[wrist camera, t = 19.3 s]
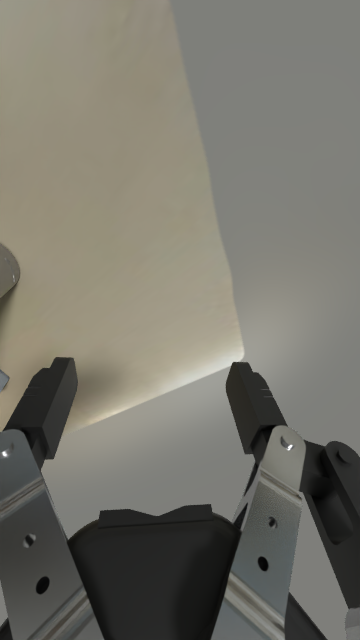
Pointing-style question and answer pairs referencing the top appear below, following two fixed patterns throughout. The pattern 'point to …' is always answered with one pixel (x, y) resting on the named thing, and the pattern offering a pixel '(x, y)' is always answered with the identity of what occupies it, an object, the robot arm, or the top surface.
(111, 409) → the top surface
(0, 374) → the tote
